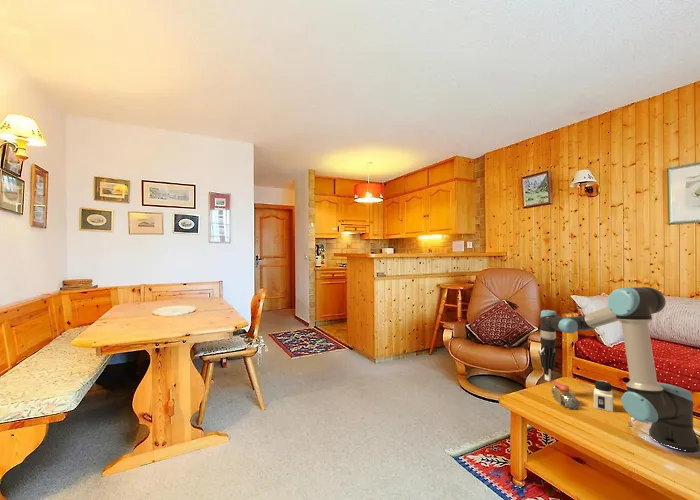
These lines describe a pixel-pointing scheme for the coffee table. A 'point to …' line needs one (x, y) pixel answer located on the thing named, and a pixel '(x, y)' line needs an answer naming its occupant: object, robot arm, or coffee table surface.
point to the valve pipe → (565, 398)
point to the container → (603, 396)
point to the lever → (562, 387)
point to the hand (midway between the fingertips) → (547, 380)
